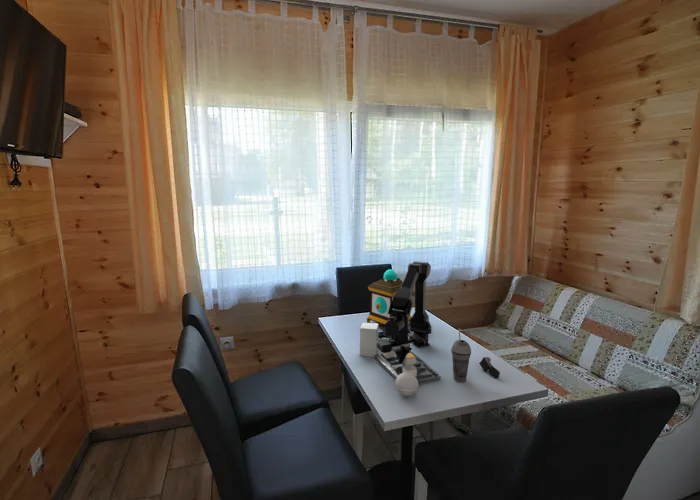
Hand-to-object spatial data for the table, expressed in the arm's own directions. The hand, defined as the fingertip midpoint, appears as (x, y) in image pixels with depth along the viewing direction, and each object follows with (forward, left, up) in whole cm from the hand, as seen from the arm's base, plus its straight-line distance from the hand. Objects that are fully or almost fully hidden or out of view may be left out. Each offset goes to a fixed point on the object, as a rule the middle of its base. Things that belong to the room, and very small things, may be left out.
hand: (400, 363), depth 146 cm
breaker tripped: (-4, 0, -1) cm, 4 cm away
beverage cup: (-17, +15, -3) cm, 23 cm away
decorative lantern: (-18, -46, -3) cm, 49 cm away
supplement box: (+6, -18, -3) cm, 19 cm away
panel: (-2, 0, -2) cm, 3 cm away
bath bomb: (+7, +17, -3) cm, 19 cm away
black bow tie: (-31, +15, -3) cm, 35 cm away
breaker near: (+1, +9, -1) cm, 9 cm away
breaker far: (+1, -8, -1) cm, 8 cm away
